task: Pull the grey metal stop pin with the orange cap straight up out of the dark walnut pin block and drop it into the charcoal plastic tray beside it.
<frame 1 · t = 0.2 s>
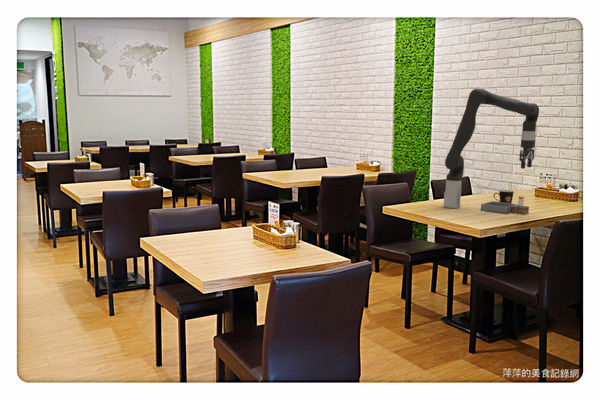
hand: (526, 167, 311), 28 cm above the table, tool pointing down, fingers open, 8 cm apart
pin block: (520, 213, 327), on the table
tray: (498, 210, 334), on the table
stop pin: (520, 204, 326), in the pin block
coffee mug: (502, 206, 349), on the table
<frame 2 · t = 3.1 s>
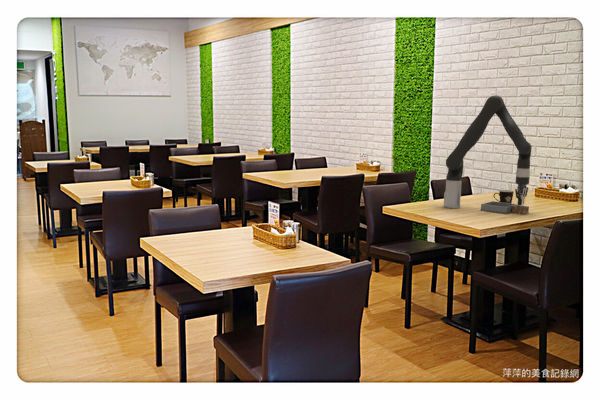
hand: (520, 204, 326), 5 cm above the table, tool pointing down, fingers closed on stop pin, 3 cm apart
stop pin: (520, 204, 326), in the pin block, touching gripper
everything else where it was.
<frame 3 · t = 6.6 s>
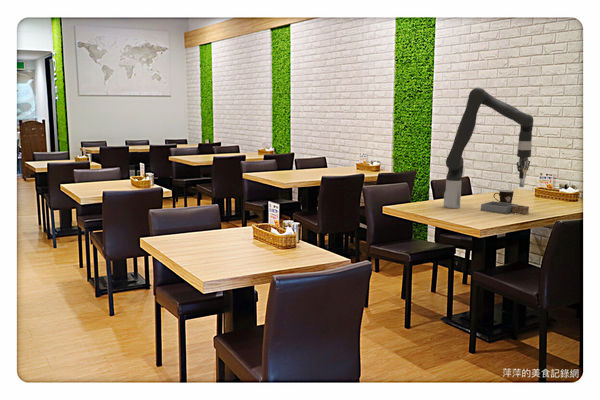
hand: (522, 178, 323), 21 cm above the table, tool pointing down, fingers closed on stop pin, 3 cm apart
stop pin: (522, 178, 323), point 21 cm above the table, touching gripper
everything else where it was.
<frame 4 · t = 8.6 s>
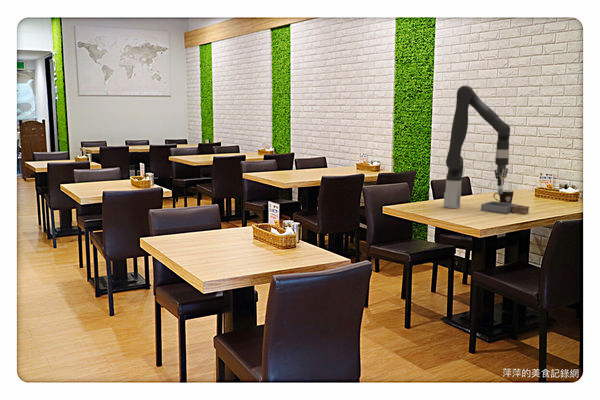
hand: (500, 185, 332), 16 cm above the table, tool pointing down, fingers closed on stop pin, 3 cm apart
stop pin: (500, 185, 332), point 16 cm above the table, touching gripper
everything else where it was.
when the fingers open (8 cm above the table, at t = 10.2 s): stop pin drops 2 cm, resting on tray.
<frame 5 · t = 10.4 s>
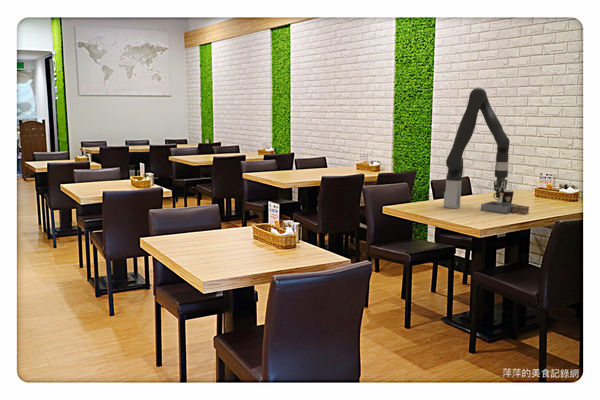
hand: (499, 197, 333), 8 cm above the table, tool pointing down, fingers open, 4 cm apart
stop pin: (499, 201, 333), in the tray, point 6 cm above the table
everything else where it was.
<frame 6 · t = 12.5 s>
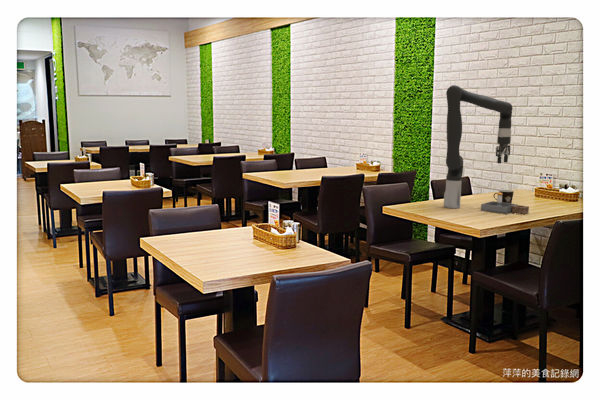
hand: (502, 162, 331), 29 cm above the table, tool pointing down, fingers open, 8 cm apart
nothing on the table moved.
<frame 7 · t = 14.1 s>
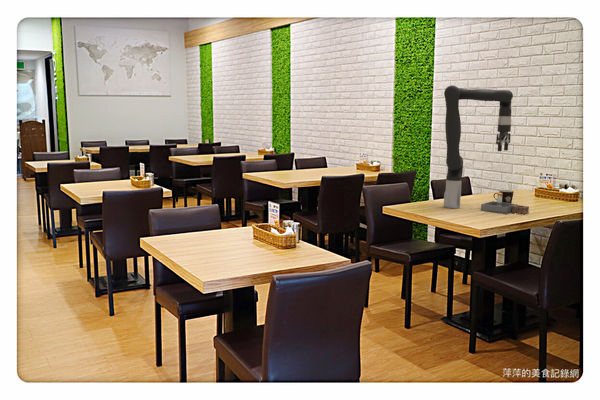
hand: (502, 150, 333), 36 cm above the table, tool pointing down, fingers open, 8 cm apart
nothing on the table moved.
at the end: stop pin inside the target area on the tray (0.0 cm from its centre), point 5.9 cm above the tray's base; the gripper is holding nothing; stop pin moved 12.6 cm from its start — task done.
